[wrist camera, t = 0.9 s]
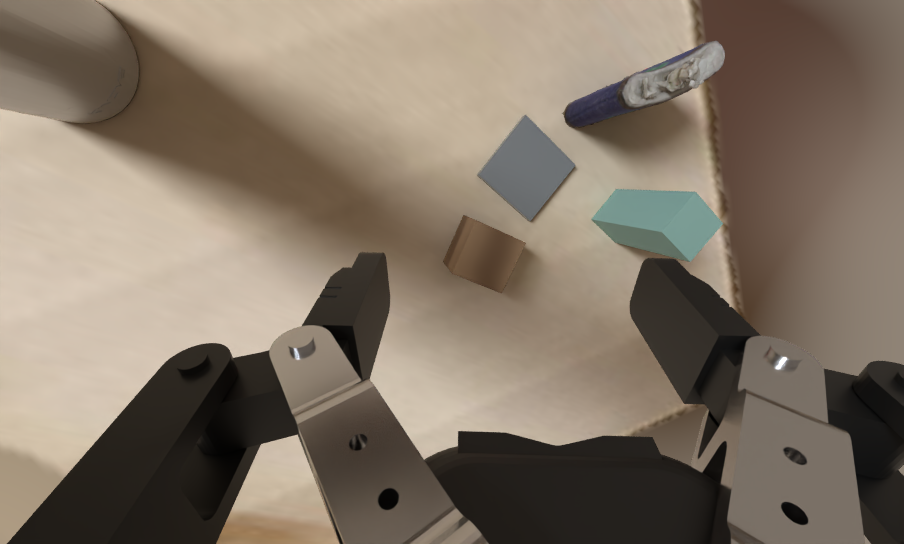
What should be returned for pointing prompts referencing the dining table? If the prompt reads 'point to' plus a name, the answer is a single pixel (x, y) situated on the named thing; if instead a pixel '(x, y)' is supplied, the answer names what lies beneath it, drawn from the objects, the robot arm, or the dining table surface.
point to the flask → (648, 86)
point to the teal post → (658, 221)
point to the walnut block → (483, 254)
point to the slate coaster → (526, 168)
